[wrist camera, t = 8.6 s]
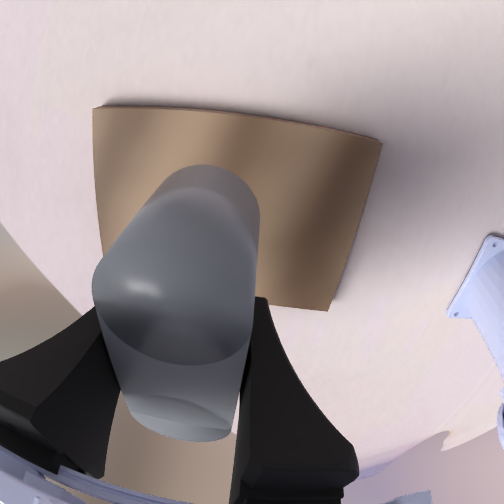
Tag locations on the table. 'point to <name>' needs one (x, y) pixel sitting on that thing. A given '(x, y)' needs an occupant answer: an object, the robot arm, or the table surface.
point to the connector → (183, 302)
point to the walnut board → (255, 176)
